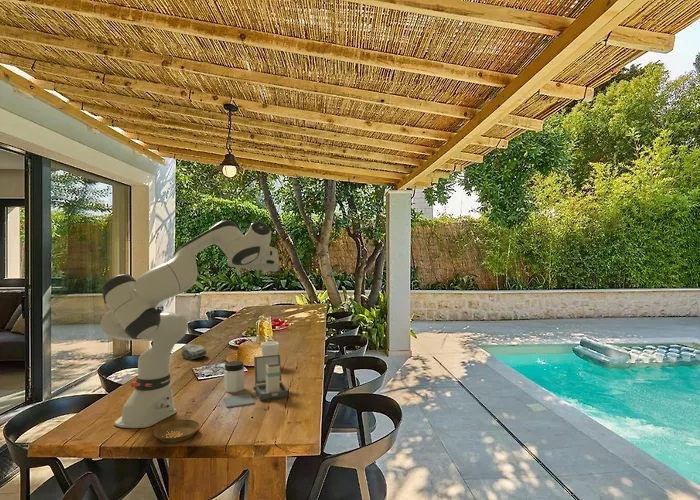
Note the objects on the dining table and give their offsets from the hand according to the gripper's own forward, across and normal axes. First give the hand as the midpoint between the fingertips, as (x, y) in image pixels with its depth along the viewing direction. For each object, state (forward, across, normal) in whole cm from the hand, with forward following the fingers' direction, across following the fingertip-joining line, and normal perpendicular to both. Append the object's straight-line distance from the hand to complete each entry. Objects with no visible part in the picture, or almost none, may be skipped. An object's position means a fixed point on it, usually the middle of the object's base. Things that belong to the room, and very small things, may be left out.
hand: (251, 272), depth 173 cm
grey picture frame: (+38, +14, -26) cm, 48 cm away
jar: (+48, 0, -33) cm, 58 cm away
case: (+39, +15, -37) cm, 56 cm away
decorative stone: (+100, -22, +3) cm, 103 cm away
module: (+35, +16, -38) cm, 54 cm away
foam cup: (+72, +18, -12) cm, 75 cm away
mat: (+35, +2, -42) cm, 55 cm away
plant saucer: (+15, -19, -61) cm, 66 cm away
